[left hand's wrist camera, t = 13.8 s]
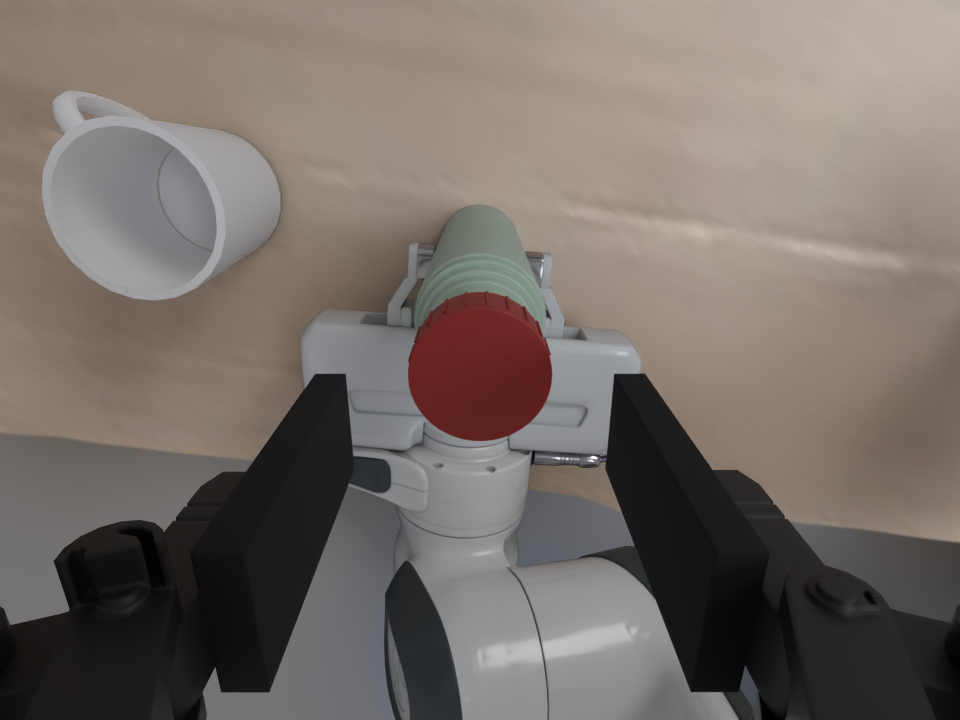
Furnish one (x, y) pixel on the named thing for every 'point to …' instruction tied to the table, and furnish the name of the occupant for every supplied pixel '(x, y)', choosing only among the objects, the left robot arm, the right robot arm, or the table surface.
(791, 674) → the left robot arm
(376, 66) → the table surface
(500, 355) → the cap
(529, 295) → the bottle
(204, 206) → the mug
